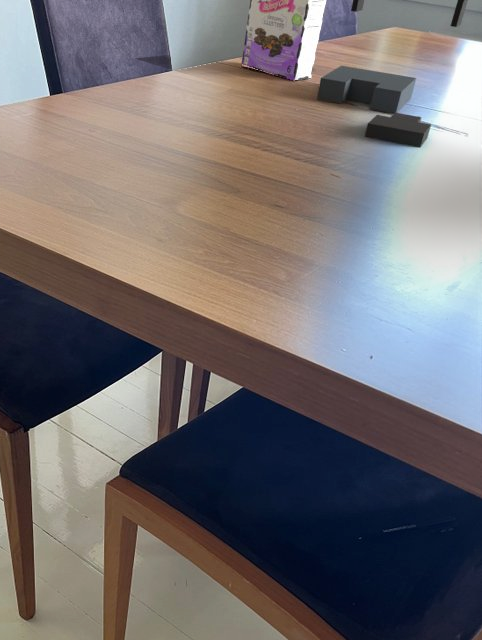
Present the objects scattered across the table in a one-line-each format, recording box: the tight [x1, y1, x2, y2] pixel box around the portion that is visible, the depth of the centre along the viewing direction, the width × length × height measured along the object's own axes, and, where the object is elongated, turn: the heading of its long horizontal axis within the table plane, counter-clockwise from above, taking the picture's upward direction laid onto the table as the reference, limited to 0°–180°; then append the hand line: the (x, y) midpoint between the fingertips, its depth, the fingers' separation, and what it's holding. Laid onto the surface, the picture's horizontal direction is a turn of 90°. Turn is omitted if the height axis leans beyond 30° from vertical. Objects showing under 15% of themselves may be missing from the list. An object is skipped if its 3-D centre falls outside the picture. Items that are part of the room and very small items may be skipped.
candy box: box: [241, 0, 327, 82], centre depth 139 cm, size 14×6×16 cm, turn 43°
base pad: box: [316, 65, 417, 115], centre depth 131 cm, size 14×14×4 cm
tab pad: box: [364, 112, 432, 149], centre depth 108 cm, size 8×10×4 cm
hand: (404, 18), depth 99 cm, fingers open, 13 cm apart
